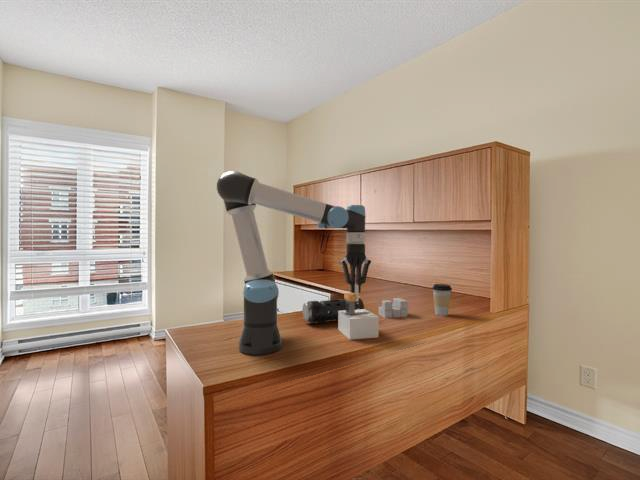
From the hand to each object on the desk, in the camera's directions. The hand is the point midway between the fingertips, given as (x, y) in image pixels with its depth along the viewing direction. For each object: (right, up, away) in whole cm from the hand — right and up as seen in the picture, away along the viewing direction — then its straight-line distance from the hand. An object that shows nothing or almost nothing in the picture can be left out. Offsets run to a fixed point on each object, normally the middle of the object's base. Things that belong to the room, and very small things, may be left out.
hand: (355, 300), depth 134 cm
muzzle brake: (-8, -13, +19) cm, 24 cm away
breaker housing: (+1, -13, 0) cm, 13 cm away
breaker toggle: (-2, -5, -1) cm, 5 cm away
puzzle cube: (+22, -13, +32) cm, 41 cm away
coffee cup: (+47, -13, +32) cm, 59 cm away
